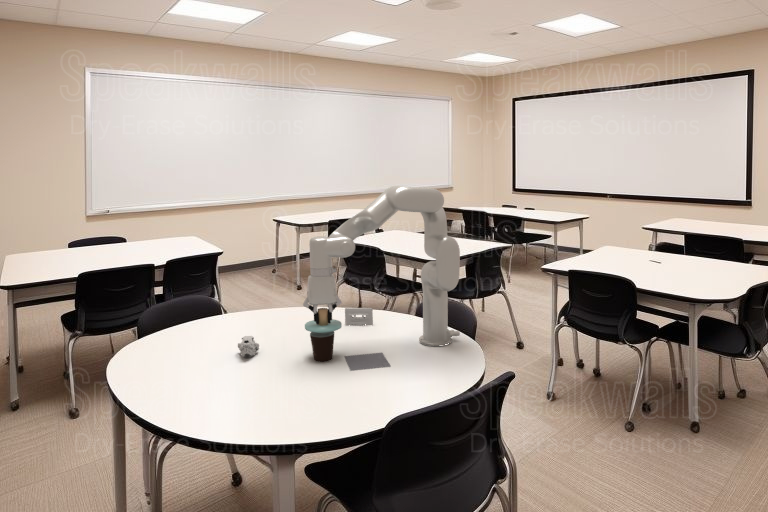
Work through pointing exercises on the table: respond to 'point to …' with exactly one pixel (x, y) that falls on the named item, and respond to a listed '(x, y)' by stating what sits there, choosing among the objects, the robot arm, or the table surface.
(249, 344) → the skull
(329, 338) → the coffee mug
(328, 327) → the lid
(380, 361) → the mat
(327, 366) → the table surface
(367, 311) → the cassette
